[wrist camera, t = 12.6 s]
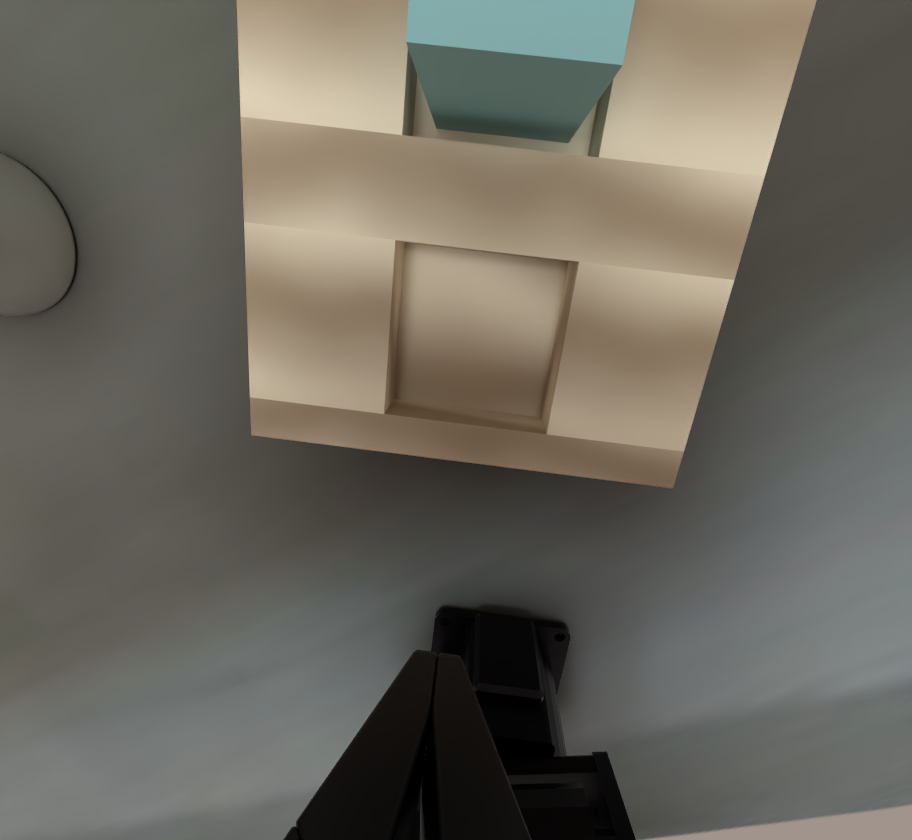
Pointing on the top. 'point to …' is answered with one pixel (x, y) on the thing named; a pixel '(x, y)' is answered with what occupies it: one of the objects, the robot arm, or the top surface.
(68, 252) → the beer glass
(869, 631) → the top surface
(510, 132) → the teal block
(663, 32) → the pocket board
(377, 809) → the robot arm
